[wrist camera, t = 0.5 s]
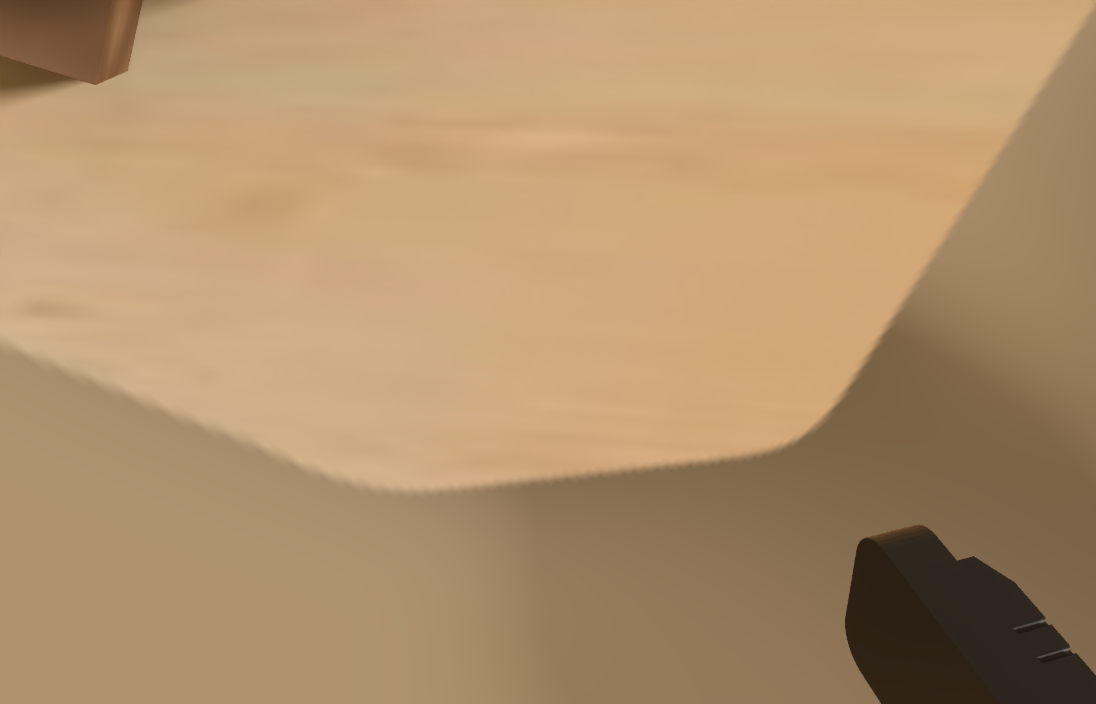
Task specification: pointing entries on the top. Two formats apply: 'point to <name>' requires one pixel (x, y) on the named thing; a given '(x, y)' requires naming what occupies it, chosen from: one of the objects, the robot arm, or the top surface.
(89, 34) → the walnut body
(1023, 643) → the robot arm
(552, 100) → the top surface
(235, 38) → the top surface
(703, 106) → the top surface
